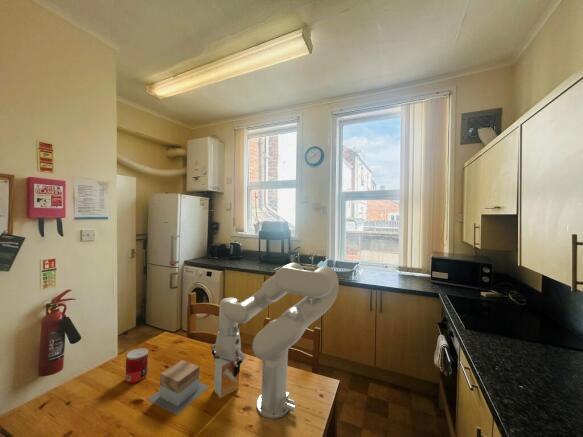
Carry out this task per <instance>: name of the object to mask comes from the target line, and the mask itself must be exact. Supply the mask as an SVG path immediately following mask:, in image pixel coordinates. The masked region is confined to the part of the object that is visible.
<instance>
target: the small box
mask: <svg viewBox="0 0 583 437" xmlns="http://www.w3.org/2000/svg"><path fill="white" fill-rule="evenodd" d="M235 360H236V362H238V361H237V359H235ZM234 366H235V365H234V363H233V361H230V360H227V359H224V358H221V357H219V358H217V359H214V368H215V369H214V375H213V376H214V378H213V391H214V392H215V393H216V394H217V395H218V397H219V398H220V399H222V398H224V397H226V396H228V395H229V394H231V393H233V392H235V391H236V390H239V382H240V373H239V374H238V375H237V376H235V377H234V376H233V371H234Z"/></svg>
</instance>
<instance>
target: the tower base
mask: <svg viewBox="0 0 583 437" xmlns="http://www.w3.org/2000/svg"><path fill="white" fill-rule="evenodd" d="M199 382H200V377H199V378H198V379H197V380H196V381H194V382H193V383H192V384H190V385H189V386H188V387H186V388H185V389H184V390H183V391H181V392H180V393H179V394H177V393H175V392H173V391H171V390H169V389H167V388H165V387H163V386H161V385H160V384H159V391H160V397H161V398H163V399H165V400H167V401H169V402H170V403H172V404H174V405H176V406H178V405H180V404H181V403H182V402H183V401H185V400H186V399H187V398H188V397H189V396H191V395H192V394H193V393H194V392H196V391H197V390H198V389H199Z"/></svg>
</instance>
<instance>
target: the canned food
mask: <svg viewBox="0 0 583 437" xmlns="http://www.w3.org/2000/svg"><path fill="white" fill-rule="evenodd" d="M125 358H126V359H125V380H124V381H125V382H126V384H128V385H135V384H139V383H140V382H142V381H143V380H145V379H146V378H147V376H148V363H149V350H148V349H147V348H144V347H143V348H141V347H140V348H136V349H133V350H131V351H129V352H127V353H126V356H125Z"/></svg>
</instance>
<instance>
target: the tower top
mask: <svg viewBox="0 0 583 437" xmlns="http://www.w3.org/2000/svg"><path fill="white" fill-rule="evenodd" d="M159 375H160V376H159V378H160V379H159V386H160V385H161V386H163V387H165V388H167V389H169V390H171V391H173V392H175V393H177V394H179V393H180V392H181V391H183V390H184V389H185V388H186V387H188V386H189V385H190V384H192V383H193V382H194V381H196V380H197V379H198V378H199V379H200V366H198V365H196V364H194V363H191V362H189V361H187V360H183V359H181V360H180V361H178V362H176V363H175V364H173V365H172V366H170V367H168V368H167V369H165V370H164V371H162V372H161V373H160V374H159Z"/></svg>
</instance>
